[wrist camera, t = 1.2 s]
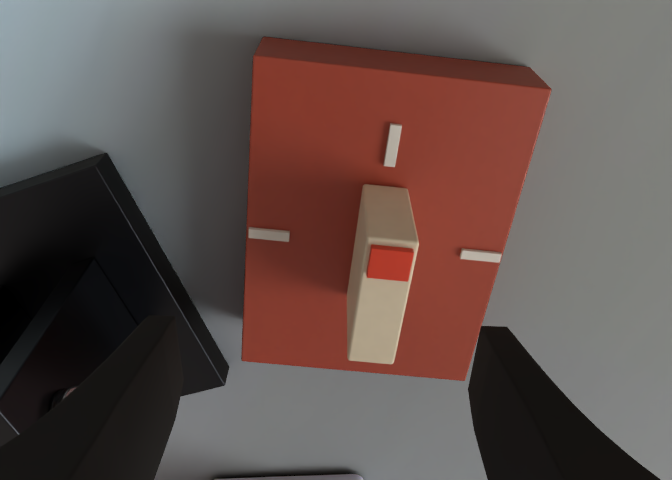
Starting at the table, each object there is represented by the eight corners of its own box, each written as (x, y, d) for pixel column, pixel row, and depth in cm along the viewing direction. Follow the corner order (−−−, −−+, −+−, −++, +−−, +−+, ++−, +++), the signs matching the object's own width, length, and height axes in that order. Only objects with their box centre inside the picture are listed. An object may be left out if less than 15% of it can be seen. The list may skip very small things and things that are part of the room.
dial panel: (455, 340, 26) (466, 384, 24) (249, 321, 26) (240, 364, 24) (530, 67, 20) (554, 90, 18) (262, 35, 20) (252, 56, 18)
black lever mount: (-96, 220, 24) (-304, 381, 16) (107, 152, 22) (-17, 294, 14) (57, 410, 29) (-44, 599, 21) (229, 366, 27) (186, 553, 20)
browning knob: (386, 299, 22) (394, 371, 19) (346, 296, 22) (347, 367, 19) (408, 187, 20) (420, 247, 17) (362, 182, 20) (366, 241, 16)
